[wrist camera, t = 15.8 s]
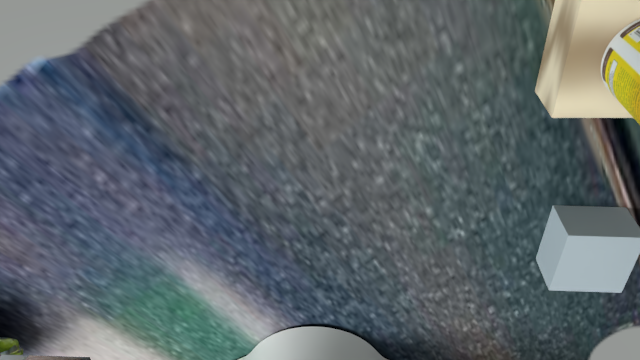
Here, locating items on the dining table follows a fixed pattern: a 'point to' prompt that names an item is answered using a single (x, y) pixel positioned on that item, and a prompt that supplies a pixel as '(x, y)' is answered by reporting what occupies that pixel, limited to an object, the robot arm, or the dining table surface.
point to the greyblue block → (588, 248)
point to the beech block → (582, 57)
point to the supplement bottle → (624, 68)
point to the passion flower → (10, 347)
